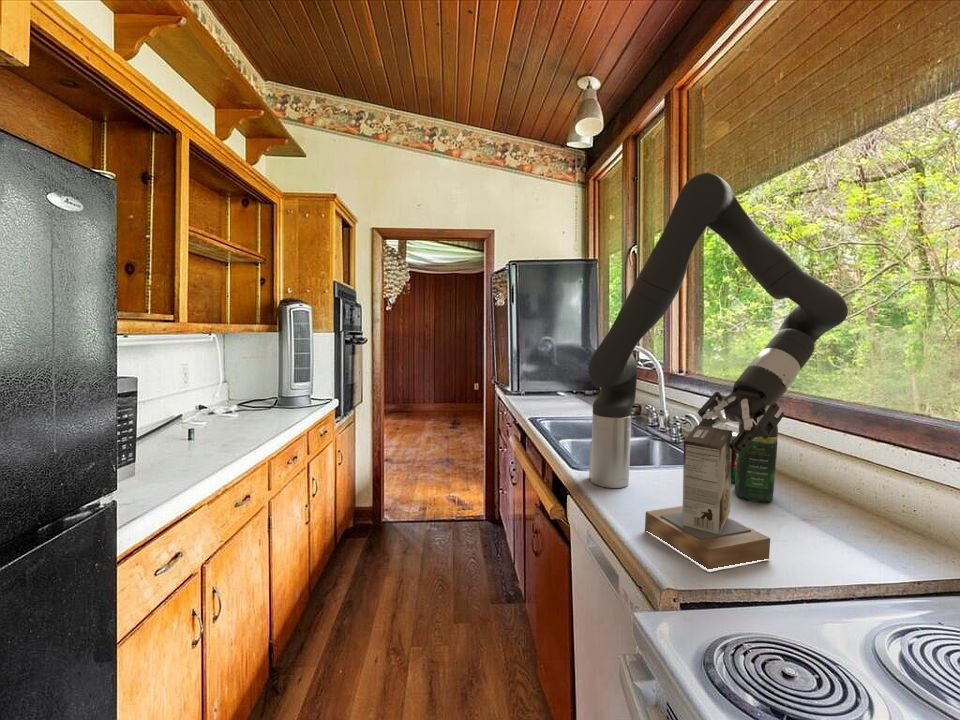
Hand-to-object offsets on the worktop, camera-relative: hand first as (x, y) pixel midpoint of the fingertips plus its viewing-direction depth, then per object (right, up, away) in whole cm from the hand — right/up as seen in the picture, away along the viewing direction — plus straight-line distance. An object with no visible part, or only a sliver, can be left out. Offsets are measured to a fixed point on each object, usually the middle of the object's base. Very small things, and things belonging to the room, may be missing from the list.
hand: (714, 444), depth 87 cm
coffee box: (-1, -14, +1) cm, 14 cm away
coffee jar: (+22, -17, +26) cm, 38 cm away
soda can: (+21, -16, +37) cm, 45 cm away
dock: (-2, -19, +1) cm, 19 cm away
